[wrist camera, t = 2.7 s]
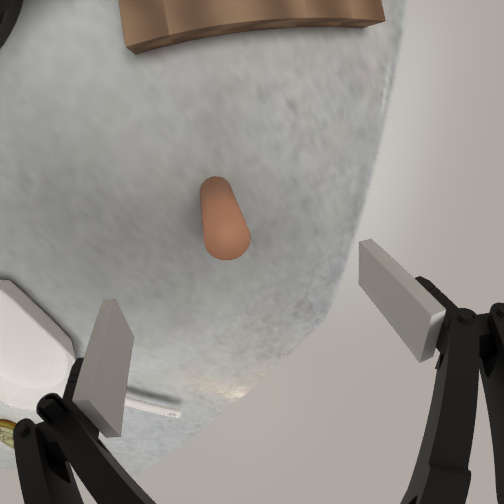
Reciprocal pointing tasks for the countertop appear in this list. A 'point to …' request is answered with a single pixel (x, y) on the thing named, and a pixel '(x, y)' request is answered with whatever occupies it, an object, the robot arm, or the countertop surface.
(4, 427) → the decorated donut
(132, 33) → the hole block
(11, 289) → the pan
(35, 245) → the countertop surface
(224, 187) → the peg
